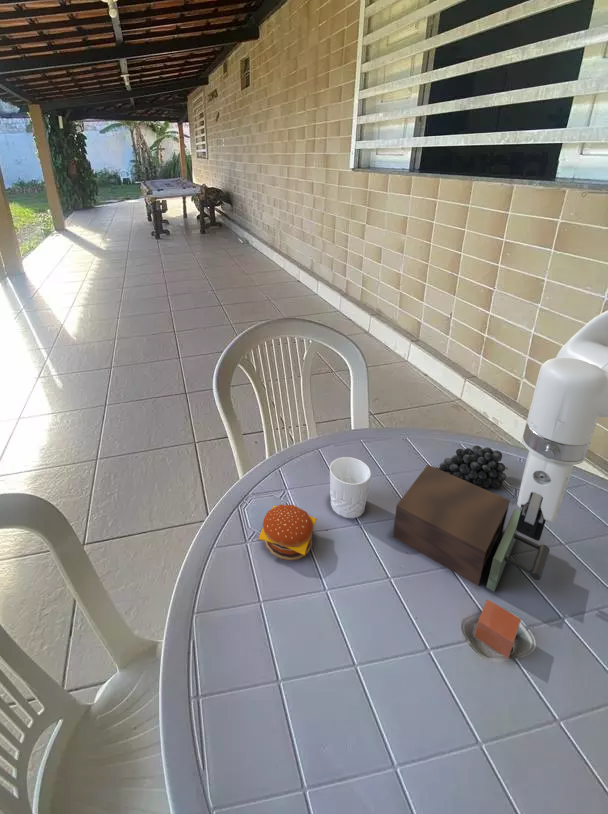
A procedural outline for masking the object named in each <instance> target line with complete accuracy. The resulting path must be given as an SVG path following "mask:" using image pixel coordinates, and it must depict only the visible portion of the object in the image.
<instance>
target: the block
mask: <svg viewBox="0 0 608 814" xmlns="http://www.w3.org/2000/svg"><path fill="white" fill-rule="evenodd" d="M521 621H522V619H521V618H520V617H518V616H517V615H515V614H513V613H512V612H510V611H508V610H507V609H504V608H503V607H501V606H500V605H498V604H497V603H495V602H493V601H491V600H490V599H487V598H486V601H485V603H484V606H483V608H482V610H481V613H480V616H479V618H478V621H477V624H476V628H475V632H474V637H475V639H477V640H479V641H480V642H482V643H484V644H485V645H486V646H488V647H490V648H491V649H493V650H494V651H496V652H497V653H499V654H500V655H502V656H503V657H505V658H506V659H510V655H511V653H512V649H513V646H514V644H515V641H516V638H517V635H518V631H519V628H520V625H521Z"/></svg>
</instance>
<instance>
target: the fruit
mask: <svg viewBox="0 0 608 814" xmlns="http://www.w3.org/2000/svg"><path fill="white" fill-rule="evenodd" d="M502 459H503V453H502V452H501V451H500V450H498V449H495V450H493V449H492V448H491V447H488V446H486V447H484V448H482V447H481V446H480V445H474V446H472V448H470V447H466V448H464V449H463V448H457V449H456V450H455V455H452V456H451V457H446V458H444V460H443V461H442V462H441V463H440V464H439V466H438V467H436V468H437V469H439V470H442V471H444V472H446V473H449V474H451V475H453V476H455V477H458V478H460V479H462V480H465V481H467V482H469V483H472V484H474V485H476V486H478V487H481V488H483V489H487V488H489V487H492V488H494V489H496V488H500V487H502V486H503V482H504V481H506V479H507V474H506V473H505V471H506V470H509V468H507V467H506V465H505V464H504V463H503V462H501V461H502Z"/></svg>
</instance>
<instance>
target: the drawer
mask: <svg viewBox="0 0 608 814" xmlns="http://www.w3.org/2000/svg"><path fill="white" fill-rule="evenodd" d="M520 512H521V510H519V509H516V508H515V509H514V510H513V512H512V515H511V517H510V519H509V521H508V523H507V525H506V528H505V530H504V531H503V532H504V533H503V535H502V537H501V539H500V541H499V544H498V546H497V547H496V551H495V553H494V556H493V557H492V561H491V566H490V569H489V575H488V577H487V582H486V588H487V589H488V590H490V591H492V592H494V593H495V592H496V589H497V587H498V584H499V582H500V580H501V577H502V575H503V572H504V570H505V567H506V565H507V563H508V564H510V565H511V566H514V567H516V568H518V569H519V570H522V571H523V572H526V573H528V574H529V575H530V577H531V578H532V579H533V580H535V581H540V580H541V579H542V576H543V573H544V570H545V566H546V563H547V560H548V557H549V554H550V551H551V550H550V547H549V546H548V545H546V544H543V543H541V544H538V543H536V542H534V541H532V540H530V539H528V538H526V537H523V536H521V535H519V534H518V533H519V532H518V531H517V530H516V527H517V524H518V520H519V516H520ZM502 520H503V519H502ZM501 524H502V521H501V523H500V525H499V527H498V529H497V531H496V534H495V536H494V538H493V540H492V542H491V544H490V547H489V549H488V551H487V553H486V558H485V562H484V566H483V569H484V568H485V566H486V564H487V562H488V559H489V557H490V556H491V553H492V551H493V549H494V546H495V544H496V542H497V540H498V537H499V535H500V534H499V532H500V528H501ZM517 540H518V541H519V542H521V543H523V544H525V545H527V546H530V547H532V548H534V549H536V550H537V551H536V555H535V557H534V561H533V564H532V566H531V568H530V567H528V566H527V565H525V564H523V563H520V562H518V561H516V560H515V559H513V558H511V557H510V555H511V552H512V550H513V548H514V545H515V543H516V541H517Z"/></svg>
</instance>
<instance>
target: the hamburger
mask: <svg viewBox="0 0 608 814" xmlns="http://www.w3.org/2000/svg"><path fill="white" fill-rule="evenodd" d="M317 520H318V519H317V518H316V517H314V516H312V515H309V514H308V512H307V511H306V510H304V509H302V508H300V507H299V506H296V505H295V504H278V505H273V506H272V507H271V509H269V510H268V511H267V512H266V514H265V516H264V517H263V520H262V529H261V531H260V533H259V536H258V540H260V541H264V542H265V546H266V548H267V550H268V551H269V552H270V553H271V554H272V555H273V556H275V557H277V558H278V559H280V560H284V561H285V560H286V561H296V560H300V559H302V558H304V557H306V556H307V555H308V554H309V552H310V551H311V549H312V547H313V546H312V545H313V531H314V528H315V525H316V522H317Z"/></svg>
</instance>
